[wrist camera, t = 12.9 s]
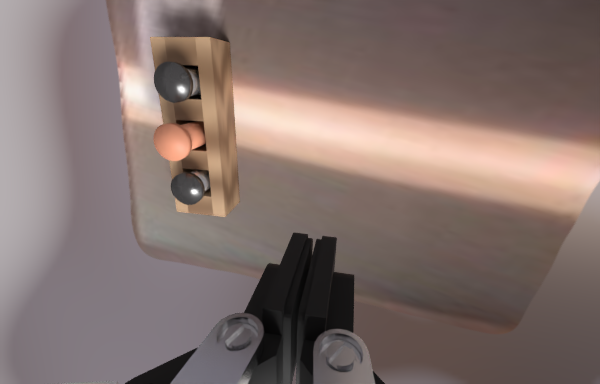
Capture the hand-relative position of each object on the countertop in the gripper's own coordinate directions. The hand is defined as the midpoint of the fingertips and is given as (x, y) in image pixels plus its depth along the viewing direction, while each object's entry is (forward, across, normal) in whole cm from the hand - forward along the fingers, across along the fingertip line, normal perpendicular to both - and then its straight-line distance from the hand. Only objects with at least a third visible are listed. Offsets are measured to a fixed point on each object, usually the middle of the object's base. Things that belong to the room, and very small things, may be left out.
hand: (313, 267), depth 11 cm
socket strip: (+27, +18, 0) cm, 33 cm away
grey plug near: (+26, +18, -6) cm, 33 cm away
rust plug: (+25, +18, 0) cm, 31 cm away
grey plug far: (+26, +18, +6) cm, 33 cm away
